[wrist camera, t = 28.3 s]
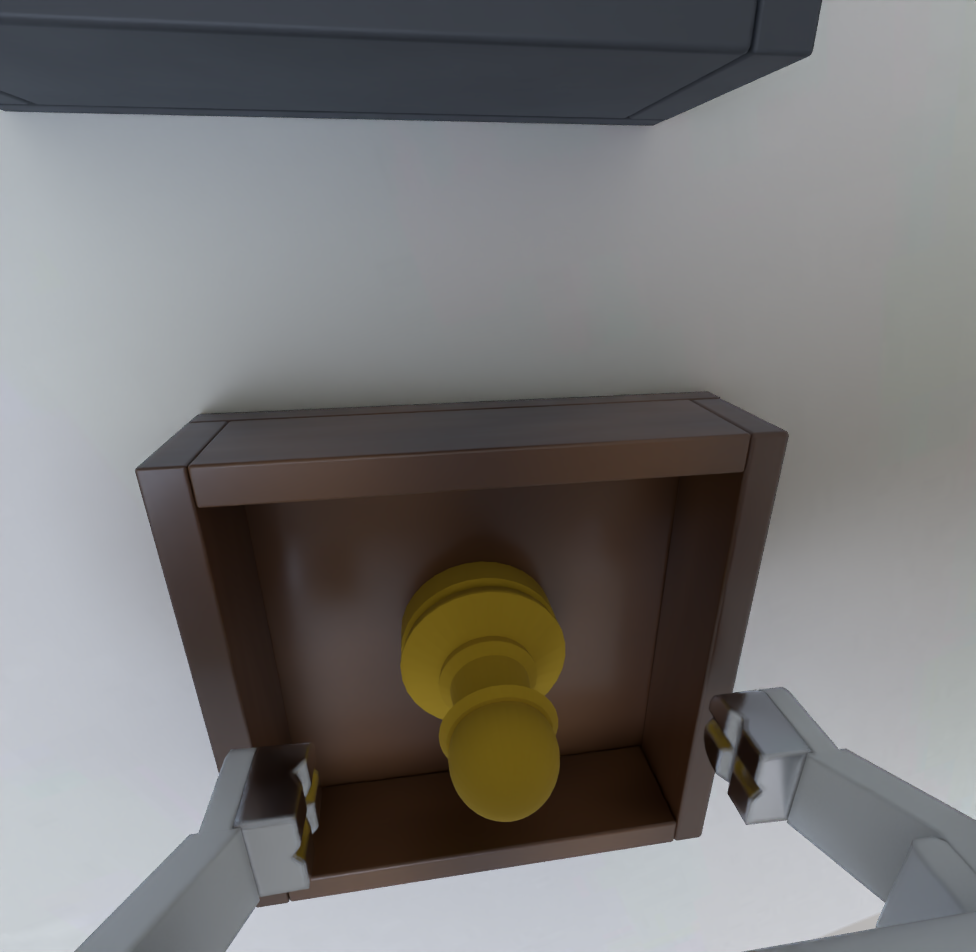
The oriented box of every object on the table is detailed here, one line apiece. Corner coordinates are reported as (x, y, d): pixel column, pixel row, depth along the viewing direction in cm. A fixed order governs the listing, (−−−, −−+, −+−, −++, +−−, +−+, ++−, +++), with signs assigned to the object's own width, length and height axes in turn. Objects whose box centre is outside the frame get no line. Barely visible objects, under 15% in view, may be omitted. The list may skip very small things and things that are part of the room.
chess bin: (708, 390, 13) (792, 432, 10) (654, 743, 18) (702, 838, 15) (196, 413, 12) (132, 469, 9) (280, 793, 16) (255, 909, 14)
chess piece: (387, 680, 15) (383, 881, 10) (416, 550, 13) (424, 716, 9) (530, 691, 15) (585, 881, 11) (570, 570, 14) (652, 730, 9)
